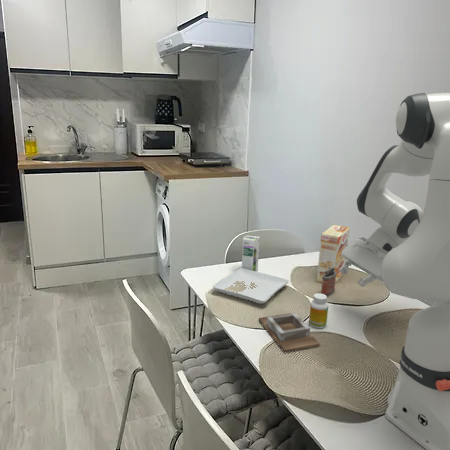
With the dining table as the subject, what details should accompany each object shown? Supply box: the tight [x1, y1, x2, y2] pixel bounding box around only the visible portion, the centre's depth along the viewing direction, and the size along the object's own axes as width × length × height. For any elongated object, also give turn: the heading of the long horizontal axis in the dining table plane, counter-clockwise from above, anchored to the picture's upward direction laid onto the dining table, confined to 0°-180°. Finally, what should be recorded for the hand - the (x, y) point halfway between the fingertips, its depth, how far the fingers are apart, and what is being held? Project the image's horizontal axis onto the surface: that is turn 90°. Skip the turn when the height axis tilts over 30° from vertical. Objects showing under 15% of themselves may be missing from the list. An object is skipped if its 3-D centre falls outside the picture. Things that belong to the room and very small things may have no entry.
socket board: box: [258, 312, 320, 353], centre depth 125 cm, size 18×11×4 cm, turn 19°
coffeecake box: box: [316, 224, 351, 284], centre depth 162 cm, size 15×7×20 cm, turn 148°
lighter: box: [320, 266, 337, 298], centre depth 150 cm, size 8×3×10 cm, turn 141°
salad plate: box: [212, 267, 289, 304], centre depth 152 cm, size 21×21×3 cm
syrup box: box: [241, 234, 261, 272], centre depth 167 cm, size 6×6×14 cm
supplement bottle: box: [308, 292, 329, 329], centre depth 129 cm, size 5×5×10 cm
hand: (350, 278), depth 130 cm, fingers open, 8 cm apart
